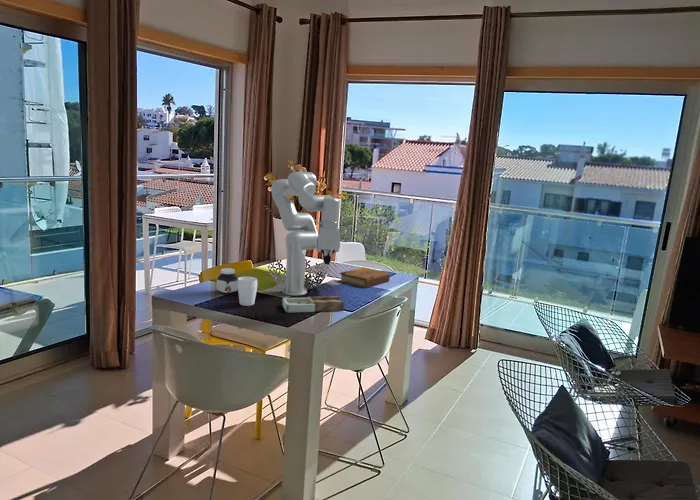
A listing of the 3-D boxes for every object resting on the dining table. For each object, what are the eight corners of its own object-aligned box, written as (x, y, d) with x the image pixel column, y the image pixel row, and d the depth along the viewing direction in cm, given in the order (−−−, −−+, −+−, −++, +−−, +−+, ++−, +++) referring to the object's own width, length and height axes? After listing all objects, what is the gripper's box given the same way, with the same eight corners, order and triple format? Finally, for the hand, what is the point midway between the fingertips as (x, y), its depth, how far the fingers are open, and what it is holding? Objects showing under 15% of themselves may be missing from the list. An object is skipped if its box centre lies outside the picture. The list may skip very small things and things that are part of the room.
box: (286, 312, 240) (286, 305, 240) (282, 305, 251) (282, 298, 250) (314, 311, 244) (315, 304, 244) (309, 304, 255) (309, 297, 254)
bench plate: (314, 311, 245) (314, 302, 244) (309, 305, 254) (310, 296, 253) (343, 310, 249) (344, 301, 249) (338, 304, 258) (338, 296, 257)
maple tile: (306, 310, 246) (302, 306, 245) (304, 307, 250) (300, 303, 250) (314, 303, 246) (311, 299, 245) (312, 300, 251) (308, 296, 250)
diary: (366, 289, 293) (367, 279, 291) (339, 282, 303) (340, 272, 302) (389, 282, 311) (389, 272, 310) (362, 276, 322) (363, 266, 320)
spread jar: (215, 294, 262) (215, 270, 260) (221, 288, 273) (221, 265, 271) (239, 295, 262) (240, 272, 259) (244, 289, 273) (245, 267, 270)
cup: (257, 301, 254) (258, 277, 252) (255, 307, 245) (256, 281, 243) (238, 300, 254) (239, 275, 251) (235, 306, 245) (236, 280, 242)
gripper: (315, 225, 238) (312, 265, 242) (347, 226, 243) (344, 266, 246) (311, 222, 245) (309, 261, 249) (342, 223, 250) (340, 262, 253)
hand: (326, 263), depth 248 cm, fingers closed
